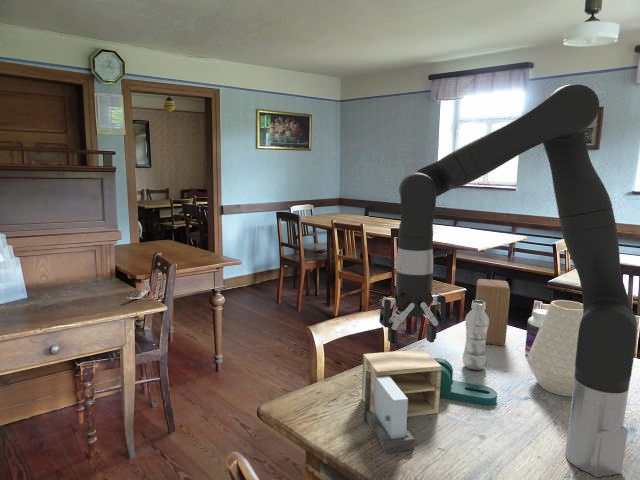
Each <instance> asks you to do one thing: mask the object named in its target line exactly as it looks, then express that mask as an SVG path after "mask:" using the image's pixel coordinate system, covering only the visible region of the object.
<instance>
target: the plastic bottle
mask: <svg viewBox="0 0 640 480" xmlns="http://www.w3.org/2000/svg"><path fill="white" fill-rule="evenodd" d="M470 306H471V309H470V310H469V312H468V313H467V314H466V316H465V318H464V319H465V320H464V321H465V331H466V332H465V336H466V337H465V346H464V351H463V353H462V363H463V365H464V367H466V368H467V369H469V370H473V371H481V370H483V369H484V368H485V367H486V366H487V361H488V360H487V354H486V353H487V350H486V348H487V347H486V344H485V343H486V335H487V330H488V326H489V318H488V316H487V314H486V313H485V311H484V310H485V309H486V307H485V306H486V303H485V302H484V301H479V300H476V299H474V300H472V302H471V305H470Z"/></svg>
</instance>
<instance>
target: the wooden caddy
mask: <svg viewBox="0 0 640 480" xmlns="http://www.w3.org/2000/svg"><path fill="white" fill-rule="evenodd" d="M362 359H363V360H362V362H363V363H362V380H361V381H362V384H361V385H362V387H361V391H362V392H361V400H362V402H363V404H364V409H363V411H364V412H363V420H364V421H365V422H366V423H367V424H368V426H369V428H370V429H371V431H372V433H373V435H374V437H375V438H376V439H377V442H378V444H379V445H380V446H381V448H382V450H383V451H384V454H392V453H400V452H407V451H413V450H415V437H414V436H413V434H412V433H411V432H410V431H409V430H408V428H407V427H406V438H398V439H390V440H389V438H388V437H387V435H386V433H385V432H384V430H383V429H382V427H381V426H380V424H379V422H378V421H377V419H376V418H375V416H374V409H375V386H376V377H384V376H390V378H391V379H392V380H393V381H394V383H395V384H396V385H397V386H398V387H399V389H400V390H401V391H402V392H403V393H404V395H405V396H406V397H407V398H408V407H407V418H408V417H413V416H414V417H415V416H416V417H417V416H424V415H433V414H439V410H440V383H441V368H442V366H441V365H440V364H439V363H438V362H437V361H435V360H434V359H435V358H433V357H432V356H431V355H430V354H429V353H428V352H427V351H425V349H422V348H421V349H412V350H411V349H409V350H398V351H385V352H374V353H373V352H372V353H370V352H369V353H363V358H362Z"/></svg>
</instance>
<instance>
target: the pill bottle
mask: <svg viewBox="0 0 640 480" xmlns="http://www.w3.org/2000/svg"><path fill="white" fill-rule="evenodd" d="M547 311H548V309H542V308H535V309H533V311H532V316H530V317H529V318H528V319H527V324H526V325H527V329H526V338H525V347H524V348H525V349H524V352H525V354H526V355H527V356H528V354H529V351H530V349H531V347H532V345H533V342H534V340H535V338H536V336H537V333H538V331H539V329H540V326H541V324H542V322H543V320H544V317H545V315H546V313H547Z"/></svg>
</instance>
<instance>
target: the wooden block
mask: <svg viewBox="0 0 640 480" xmlns="http://www.w3.org/2000/svg"><path fill="white" fill-rule="evenodd" d="M475 293H476V294H475V300H479V301H484V302H485V303H486V306H485V307H486V309H485V310H484V311H485V313H486V314H487V316H488V318H489V326H488V330H487V335H486V343H485V345H486V344H487V345H495V346H505V345H506V341H507V330H508V321H509V320H508V319H509V311H510V310H509V308H510V299H511V298H510V296H511V288H510V285H509V282H508V281H506V280H500V279H488V278H487V279H486V278H479V279H477V280H476V291H475Z"/></svg>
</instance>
